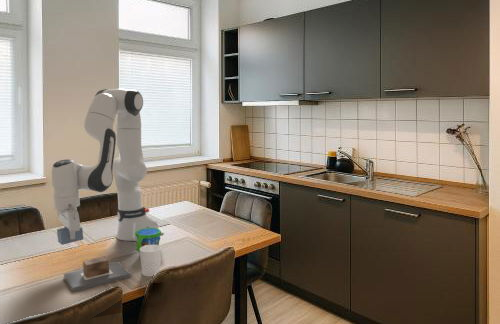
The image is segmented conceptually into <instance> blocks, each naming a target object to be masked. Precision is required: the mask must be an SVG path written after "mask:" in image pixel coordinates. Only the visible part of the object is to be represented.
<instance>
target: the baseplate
mask: <svg viewBox="0 0 500 324" xmlns="http://www.w3.org/2000/svg"><path fill="white" fill-rule="evenodd" d="M130 277H131V273H130V272H129V271H128V270H127V269H126V268H125V267H124V266H123V265H122V264H121V263H120V262H118V261H114V262H109V273H106V274H102V275H98V276H94V277H90V278H87V277H86V276H85V275H84V270H83V269H80V270H74V271H70V272H66V273H63V278H64V280H65V281H66V283H67V285H68V286H69V288H70V289H71V290H72V292H73V293H74V291H75V292H78V291H82V290H85V289H90V288H94V287H98V286H102V285H104V284H110V283H113V282H117V281H122V280H125V279H129V278H130Z"/></svg>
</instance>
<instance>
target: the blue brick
mask: <svg viewBox="0 0 500 324" xmlns="http://www.w3.org/2000/svg"><path fill="white" fill-rule="evenodd" d="M69 234H70V233H69V230H68V229H67V228H65V227H62V228H57V229H56V235H57V242H58V243H59V244H60V245H61V246H63V245H68V244H70V243H74V242H78V241H83V240H84V230H83V227H82V226H81V225H80V230H79V231H76V232H75V239H72V240H71V239H70V237H69Z"/></svg>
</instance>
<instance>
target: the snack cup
mask: <svg viewBox="0 0 500 324" xmlns="http://www.w3.org/2000/svg"><path fill="white" fill-rule="evenodd" d="M135 235H136V237H137V241H136V249H135V250H136V251H137V253H140V248H141V247H143V246H145V245H159V246H160V241H161V230H160V229H157V228H144V229H140V230H138V231H136V233H135Z"/></svg>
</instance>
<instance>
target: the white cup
mask: <svg viewBox="0 0 500 324" xmlns="http://www.w3.org/2000/svg"><path fill="white" fill-rule="evenodd" d="M161 255H162V247H161V245H160V244H159V245H145V246H143V247H141V248H140V252H139V258H140V267H141V275H143V276H145V277H154V276H153V275H154V274H155V273H157V272H158V271H160V272H161V263H162V262H161V259H162V258H161Z"/></svg>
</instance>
